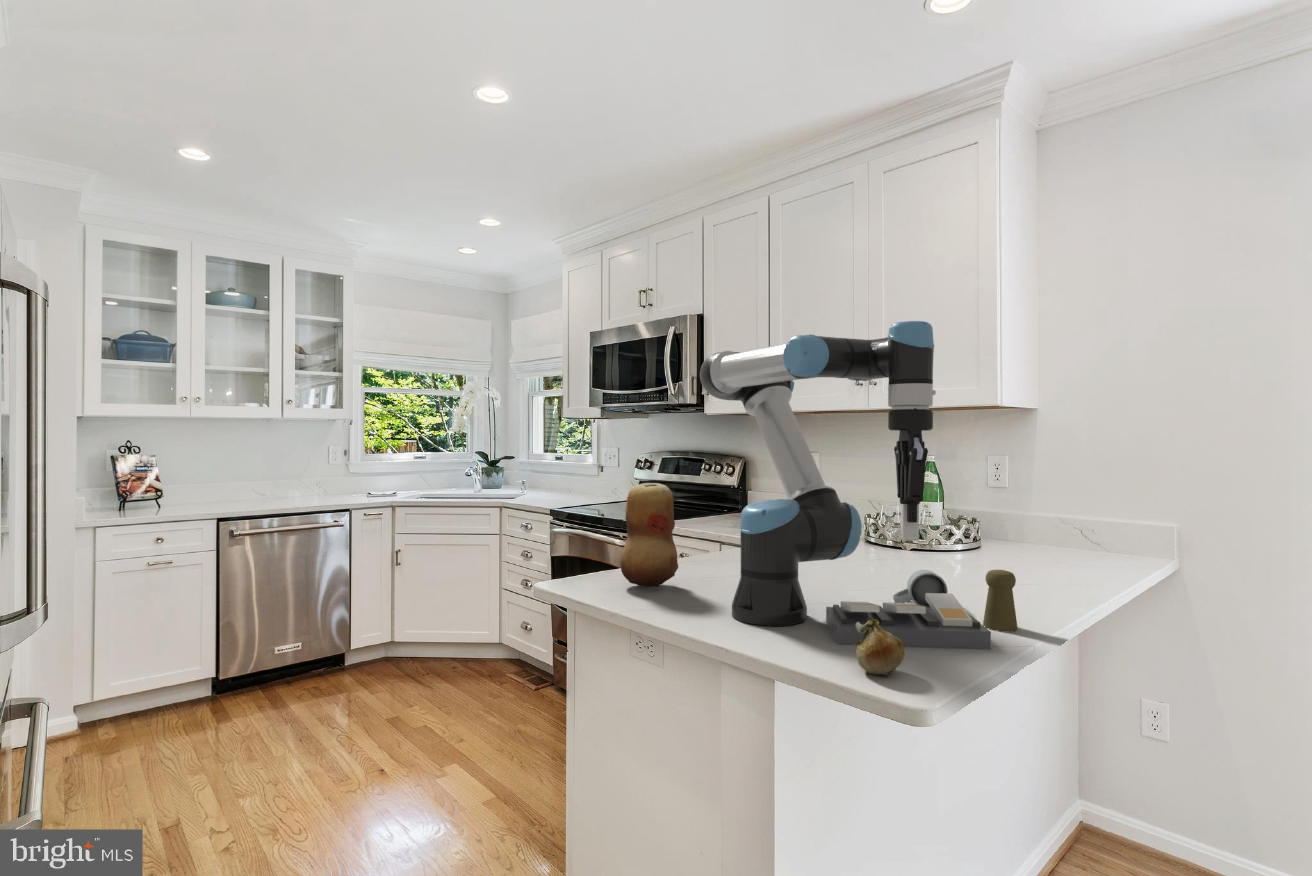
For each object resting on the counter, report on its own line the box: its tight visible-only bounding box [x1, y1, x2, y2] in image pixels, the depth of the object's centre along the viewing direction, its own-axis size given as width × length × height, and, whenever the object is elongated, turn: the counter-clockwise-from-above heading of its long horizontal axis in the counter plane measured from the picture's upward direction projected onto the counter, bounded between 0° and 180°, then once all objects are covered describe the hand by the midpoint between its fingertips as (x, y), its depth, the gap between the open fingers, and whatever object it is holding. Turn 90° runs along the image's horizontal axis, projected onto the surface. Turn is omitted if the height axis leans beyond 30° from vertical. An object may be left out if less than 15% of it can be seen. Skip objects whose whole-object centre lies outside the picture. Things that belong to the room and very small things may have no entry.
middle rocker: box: [882, 602, 927, 614], centre depth 127 cm, size 5×11×1 cm, turn 174°
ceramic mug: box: [892, 569, 949, 610], centre depth 149 cm, size 11×8×8 cm
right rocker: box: [925, 593, 973, 626], centre depth 126 cm, size 5×11×1 cm, turn 174°
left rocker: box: [839, 600, 880, 612], centre depth 128 cm, size 5×11×1 cm, turn 174°
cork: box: [982, 569, 1018, 633], centre depth 132 cm, size 6×6×11 cm
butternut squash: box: [620, 482, 679, 588], centre depth 165 cm, size 14×13×25 cm
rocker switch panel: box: [825, 604, 992, 650], centre depth 127 cm, size 26×14×4 cm, turn 84°
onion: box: [855, 619, 906, 676], centre depth 107 cm, size 8×8×8 cm
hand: (909, 539), depth 123 cm, fingers closed
